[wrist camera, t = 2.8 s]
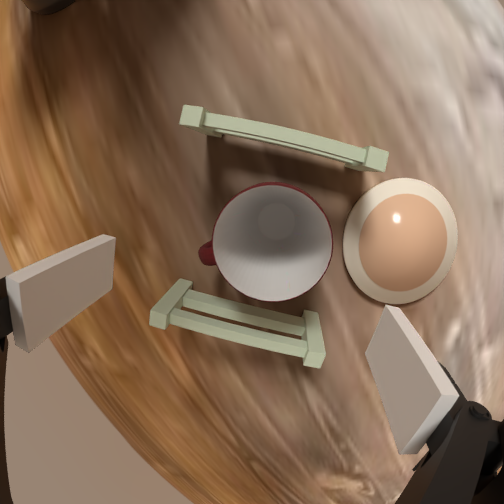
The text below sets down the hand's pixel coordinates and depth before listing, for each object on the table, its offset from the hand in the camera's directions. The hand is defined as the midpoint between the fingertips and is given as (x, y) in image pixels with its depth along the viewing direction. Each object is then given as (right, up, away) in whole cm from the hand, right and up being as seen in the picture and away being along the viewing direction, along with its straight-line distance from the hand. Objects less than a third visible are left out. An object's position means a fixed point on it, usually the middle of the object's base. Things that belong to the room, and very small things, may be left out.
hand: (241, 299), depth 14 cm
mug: (+2, +5, +16) cm, 17 cm away
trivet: (+16, +3, +15) cm, 22 cm away
